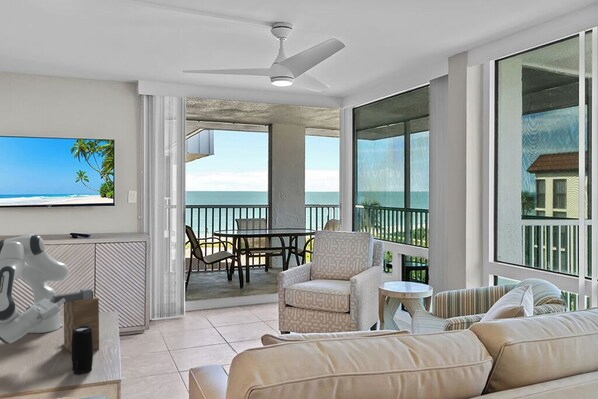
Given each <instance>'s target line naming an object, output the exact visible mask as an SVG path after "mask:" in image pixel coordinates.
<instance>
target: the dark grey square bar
mask: <svg viewBox="0 0 598 399" xmlns="http://www.w3.org/2000/svg"><path fill="white" fill-rule="evenodd" d="M93 296H94V290H92V289H91V288H82V289H81V288H80V289H79V291H76V292H69V293H63V294H62V293H61V294H56V295H54V296H52V302H53V303H57V302H59V301H60V299H62V298H64V299H65V300H66V301H65V302H64V303H67V302H73V301H79V300H87V299H92V298H93ZM64 303H63V304H64Z"/></svg>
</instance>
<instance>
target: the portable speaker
mask: <svg viewBox="0 0 598 399" xmlns="http://www.w3.org/2000/svg"><path fill="white" fill-rule="evenodd" d="M71 350H72V353H71V365H72V371H73V374H75V375H82V374H83V373H85V372H91V371H92V370H93V359H94V351H93V338H92V329H91V327H90V326H88V325H84V326H80V327H77V328H73V331H72V341H71Z"/></svg>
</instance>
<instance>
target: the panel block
mask: <svg viewBox="0 0 598 399" xmlns="http://www.w3.org/2000/svg"><path fill="white" fill-rule="evenodd" d="M99 299H100V298H98V297H96V296H94V295H93V298H92V299H87V300H79V301H73V302H67V303H63V337H64V338H63V339H64V340H63V345H64V348H63V349H66V350H67V351H68V352H70V354H72V350H71V341H72V331H73V328H77V327H80V326H84V325H88V326H90V327H91V329H92V338H93V352H94V351H98V350H100V309H99V308H100V304H99Z"/></svg>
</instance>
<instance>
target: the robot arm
mask: <svg viewBox="0 0 598 399" xmlns="http://www.w3.org/2000/svg"><path fill="white" fill-rule="evenodd" d="M44 240H45V239H43V237H42V236H41V235H36V234H33V233H31V232H30V233H23V234H22V235H20V236H16V237H11V238H5V239H1V240H0V341H1V342H2V343H4V344H6V345H10V344H12V343H14V342H16V341H19V339H21V338H23V337H24V336H26V334H33V333H34V334H40V333H41V334H42V333H50V332H54V331H56V330H58V329H60V328H62V327H64V323H61V315H60V311H61V306H62V305H64V302H65V301H66V300H65V299H64V298H62V299H60V301H59V302H57V303H53V302H52V296H54V295H57V294H56V290H55V288H53V287H52V286H49V284H48V283H47V282H59V281H64V280H65V279H66V278H67V277H68V275H69V267H68V266H67V264H66V263H63V262H61V261H58V260H57V259H55V258H54V257H52V256H51V255H50V254H48V252H47V251H46V249H45V241H44ZM19 278H21V279H22V280H23V281H24V282H25V283H27V284H28V285H29V286H30V288H31V290H32V294H33V304H32V305H29V306H27V307H26V308H25V311H24V312H22V313H19V310H18V308H17V306H16V304H15V301H14V298H13V297H12V295H13V288H14V282H15V280H18V279H19Z"/></svg>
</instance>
